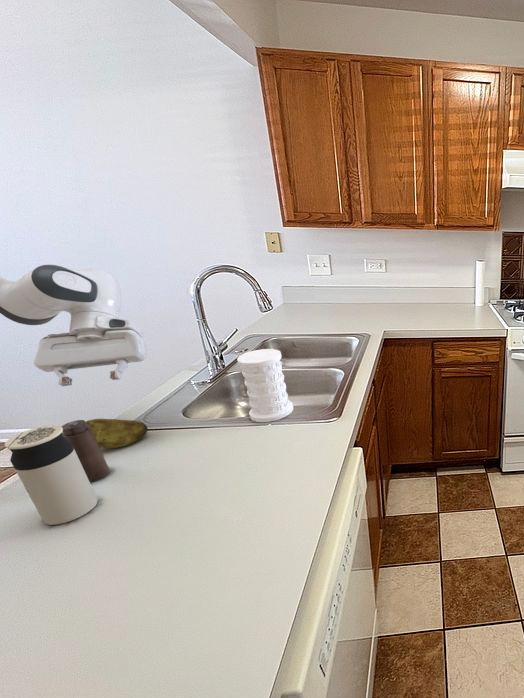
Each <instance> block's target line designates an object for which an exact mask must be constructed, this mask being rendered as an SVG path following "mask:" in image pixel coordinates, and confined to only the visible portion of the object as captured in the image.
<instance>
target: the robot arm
mask: <svg viewBox="0 0 524 698" xmlns="http://www.w3.org/2000/svg"><path fill="white" fill-rule="evenodd" d="M121 305H122V291H121V287H120V284H119V282H118V280H117V279H116V277H114V276H113V275H112V274H110V273H108V272H106V271H103V270H101V269H95V268H87V269H82V270H81V269H79V270H78V269H69V268H67V267H64V266H61V265H56V264H42V265H39V266H37V267H35V268H34V269H32V270H30V271H29V272H27V273H26V274H24V275H23V276H22V277H21V278H19V279H17V280H16V281H14V280H8V279H6V278H4V277H2V276H0V315H2V316H3V317H5V318H6V319H8V320H10V321H12V322H15V323H17V324H21V325H26V326H41V325H44V324H48V323H49V322H51V321H52V320H53V319H55V318H56V317H57V316H58V315H59V314H60V313H62V312H65V313H66V312H67V313H69V314H70V320H69V321H70V322H69V332H62V333H51V334H47V336H44V337H42V338H40V339H39V341H38V346H37V349H36V353H35V355H34V359H33V365H34V367H36V368H38V369H39V370H41V371H43V372H46V373H51V372H54V373H55V375H56V377H58V385H59V386H60V387H70V386H72V384H73V378H71V377H69V376H66V374H68V371H70V370H79V369H87V368H94V367H104V366H113V365H117V366H116V368H115V369H114V370H110V372H109V378H110V380H112V381H117V380H118V381H119V380H121V379H122V374H123V373H124V372H125V370H127V368H128V367H129V363H131V364H132V363H141V362H143V361H144V360H146V358H147V345H146V341H145V339H143V336H144V334H143V333H144V332H143V331H142V329H141V328H140V327H139V326H138V325H137V324H136V323H134V322H133V321H131V320H129V319H122V318H120V316H119V314H120V313H119V312H121V308H122V306H121Z"/></svg>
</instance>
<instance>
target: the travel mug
mask: <svg viewBox="0 0 524 698" xmlns="http://www.w3.org/2000/svg"><path fill="white" fill-rule="evenodd" d="M62 431H63V428H62V425H61V426H60V425H57V424H56V425H54V424H53V425H52V424H51V425H44V426H39V427H34V428H31V429H28V430H25V431H22V432H19V433H18V434H17V433H16V435H13V436H12V437H10V438H8V439H7V440H6V441H5V442H4V447H5V448H6V449H8V450H9V451H10V452H11V456H10V460H9V461H10V463H11V465H12V467H13V468H14V471H15V472H16V474H17V476H18V478H19V479H20V481H21V483H22V485H23V487H24V488H25V490H26V492H27V494H28V496H29V498H30V500H31V501H32V503H33V505H34V507H35V508H36V509H35V510H36V511H37V512H38V515H39V516H40V518H41V520H42V521H43V523H44V524H45V525H48V526H49V525H50V526H52V525H62V524H65V523H68V522H71V521H74V520H77V519H78V518H81V517H83V516H84V515H86V514H87V513H89V512H90V511H92V510H93V509H94V508H95V507H96V505H97V504H98V501H99V500H98V496H97V495H96V493H95V490H94V489H93V486H92V485H91V482H89V480H88V478H87V475H86V473H85V471H84V469H83V467H82V465H81V462H80V460H79V458H78V456H77V454H76V452H75V450H74V447H73V445H72V443H71V441H70V440H69V439H67V438H65V437H63V435H62V433H63V432H62Z"/></svg>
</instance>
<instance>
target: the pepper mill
mask: <svg viewBox="0 0 524 698" xmlns="http://www.w3.org/2000/svg"><path fill="white" fill-rule="evenodd" d="M61 427H62V428H63V431H62V435H63V437H65V438H67V439H69V440H70V441H71V443H72V445H73V447H74V450H75V452H76V454H77V456H78V458H79V460H80V462H81V465H82V467H83V469H84V471H85V473H86V475H87V478H88V480H89V482H90V483H93V482H97V481H100V480H102V479H103V478H106V477H108V475H110V473H111V470H110V467H109V465H108V462H107V460H106V458H105V456H104V453H103V451H102V449H101V447H99V444H98V442H97V440H96V437H95V435H94V433H93V430H92V428H91V426H89V425H86V420H84V419H78V420H77V419H76V420H73V421H68V422H66V423H64V424H62V425H61Z"/></svg>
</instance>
